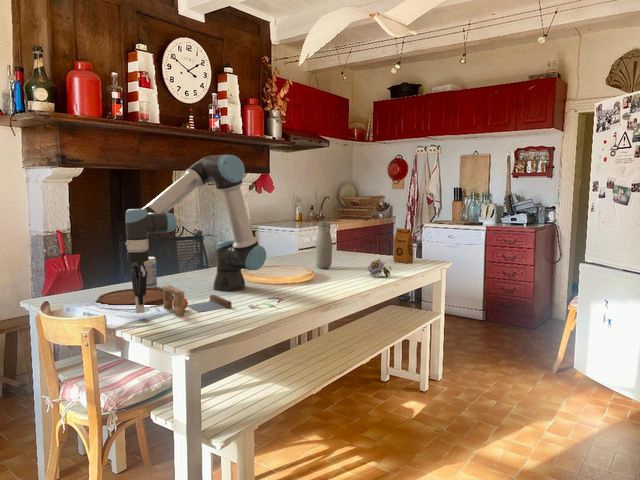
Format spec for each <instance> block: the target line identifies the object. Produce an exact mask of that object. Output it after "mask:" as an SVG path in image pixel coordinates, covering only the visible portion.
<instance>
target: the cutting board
mask: <svg viewBox="0 0 640 480" xmlns="http://www.w3.org/2000/svg"><path fill="white" fill-rule="evenodd" d="M174 300H175V295H174V294H172V301H174ZM95 302H96V303H101V304H108V305H136V301H135V293H133V288H127V289H120V290H114V291H113V290H112V291H110V292H105V293H103V294H101V295H99V296H98V297H97V299H96V300H95V301H94V303H95ZM144 305H159V306H161V305H162V306H164V305H163V288H157V287H156V288H146V295H144Z"/></svg>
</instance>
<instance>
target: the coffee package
mask: <svg viewBox="0 0 640 480" xmlns="http://www.w3.org/2000/svg"><path fill="white" fill-rule="evenodd" d="M395 231H396V232H395V234H394V238H393V261H394V262H397V263H401V264H412V263H414V252H415V251H414V240H413V236H412V235H413V234H412V231H411V229H410V228H401V227H396V229H395Z"/></svg>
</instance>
